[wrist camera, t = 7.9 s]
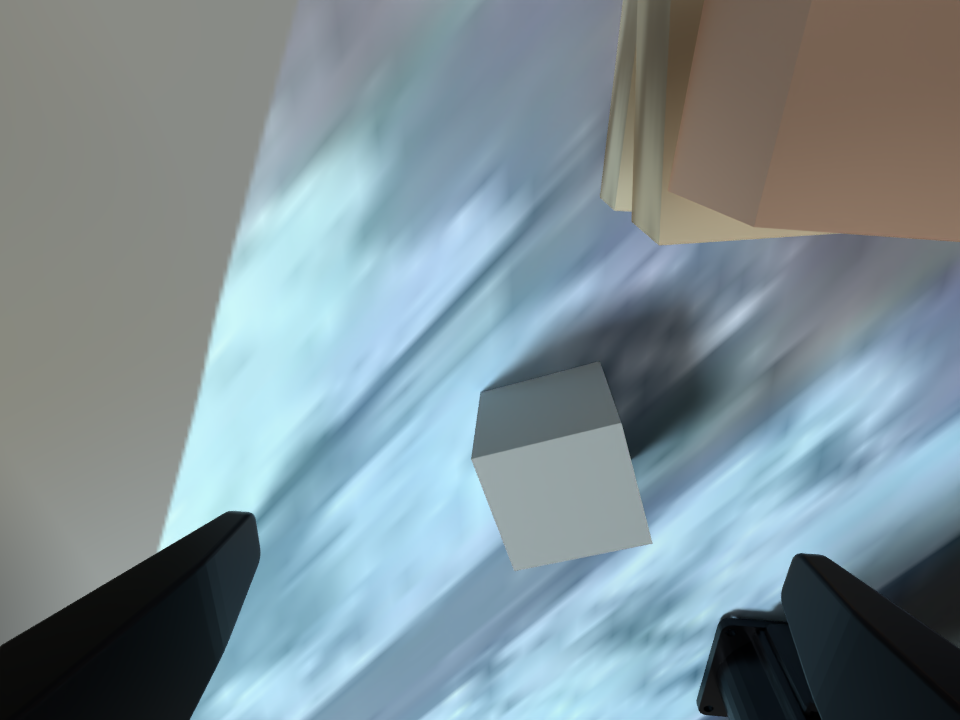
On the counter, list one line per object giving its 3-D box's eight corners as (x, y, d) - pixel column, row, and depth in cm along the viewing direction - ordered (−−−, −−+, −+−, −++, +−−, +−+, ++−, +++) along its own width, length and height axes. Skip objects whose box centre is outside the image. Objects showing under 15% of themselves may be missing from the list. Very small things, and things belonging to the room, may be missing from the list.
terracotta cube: (979, -60, 10) (1339, -206, 6) (887, 206, 12) (1103, 252, 8) (718, -74, 11) (870, -226, 6) (667, 190, 13) (753, 227, 8)
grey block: (626, 462, 24) (652, 543, 19) (515, 487, 24) (514, 571, 20) (599, 360, 22) (621, 422, 17) (480, 391, 23) (471, 458, 18)
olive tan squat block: (799, 204, 19) (855, 221, 16) (598, 196, 19) (614, 210, 16) (860, -35, 16) (944, -74, 13) (626, -40, 17) (651, -79, 13)
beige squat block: (878, 203, 16) (970, 224, 13) (631, 221, 16) (658, 245, 13) (938, -98, 13) (1077, -171, 10) (639, -63, 14) (676, -120, 10)
